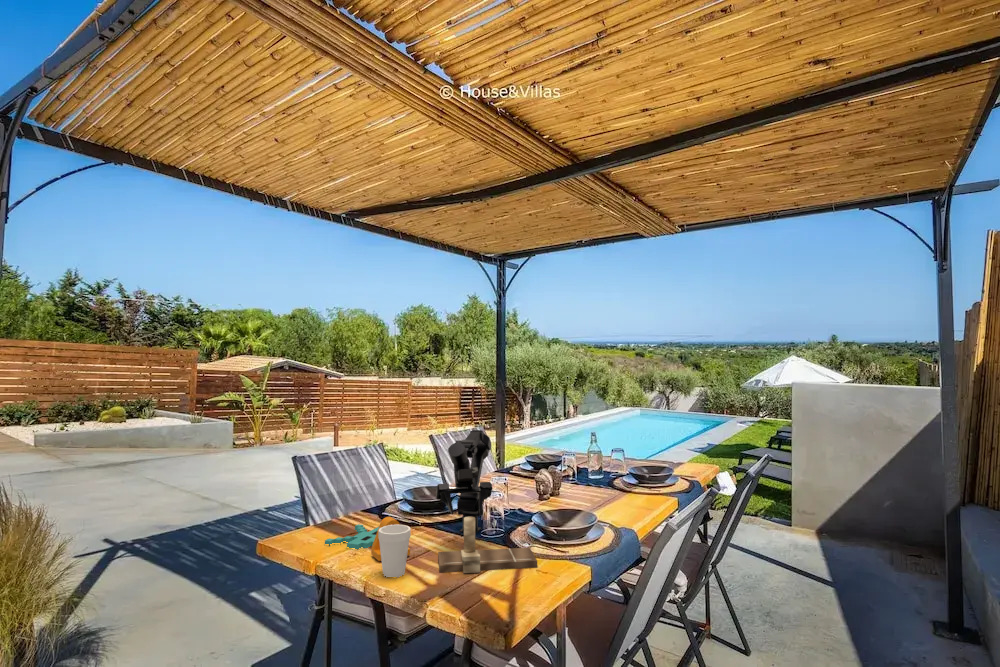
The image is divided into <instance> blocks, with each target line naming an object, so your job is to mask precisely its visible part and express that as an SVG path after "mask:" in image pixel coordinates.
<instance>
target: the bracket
mask: <svg viewBox="0 0 1000 667" xmlns="http://www.w3.org/2000/svg"><path fill="white" fill-rule="evenodd" d="M388 525H401V523H400V522H399V521H398V520H396V519H395V518H394V517H392V516H385V517H384V518H383V519H382V520H381V521H380V522H379V526H378V527H379V528H378V531H377V534H376V537H375V540H374V542H373V545H372V547H370V548H371V549H370V550H371V553H370V555H371V556H373V557H374V559H376V560H377V561H378V562H382V561H381V552H380V543H379V539H378V532H379V529H380V528H382V527H384V526H388ZM408 556H411V548H410V547H409V546H408V553H407V557H408Z"/></svg>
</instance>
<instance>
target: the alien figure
mask: <svg viewBox="0 0 1000 667" xmlns="http://www.w3.org/2000/svg"><path fill="white" fill-rule="evenodd" d="M378 528H379V526H378V527H375V528H374V529H371V530H370V531H368V529H366V526H364V524H359V523H358V524H356V525H354V531H355V530H357V531H355V532H358V533H356V534H355V535H354V536H349V535H347V536H344V537H339V536H338V537H336V538H327V539H325V540H324V545H325V544H329V545H330V544H332V543H341V542H343V541H346V542H348V543H346V548H347V547H349V548H355V549H359V548H361V547H363V548H361V549H365V548H368V547H370V546H372V545H373V542H374V540H375V537H376V534H377V531H378ZM370 548H371V547H370ZM368 549H369V548H368ZM359 550H360V549H359Z"/></svg>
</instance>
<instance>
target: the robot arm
mask: <svg viewBox="0 0 1000 667" xmlns="http://www.w3.org/2000/svg"><path fill="white" fill-rule="evenodd" d="M491 449H492V442H491V438H490V436H489V435H487V434H485V431H484V430H482V429H472V430H470V431H469V434H468V435H467V436H466V437H465V438H464V439H459V440H455V442H454V443H452V444H451V445H449V447H448V449H447V452H448V455H449V457H450V460H451V463H452V464H453V474H454V476H453V477H454V485H455V486H454V487H453V486H452V487H451V486H450V484H449V483H438V484H437V485H436V492H435V495H436V496H435V497H436V499H435V500H439V501H440V502H443V503H444V505H445V506H446V507H447V509H448V511H449V512H450V514H451V515H454V508H453V503H452V497H451V495H453V494H454V495H455V494H460V495H459V498H457V502H456V504H457V505H456V507H457V515H458V516H461V515H462V528H461V529H459V533H464V517H475V534H477V533H479V531H480V530H482V527H479V517H481V516H483V515H484V507H483V504H484V502H485V500H487V499H488V498H490V497H491V496H492V493H493V492H492V491H493V484H492V482H490V481H481V482H480V480H481V476H482V469H483V463H484V460H485V459H486V458H487V457H488V456H489V454H490V451H491ZM469 458H470V459H471V462H470V459H469Z"/></svg>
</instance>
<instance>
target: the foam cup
mask: <svg viewBox="0 0 1000 667" xmlns="http://www.w3.org/2000/svg"><path fill="white" fill-rule="evenodd" d="M411 529H412V528H411V527H410V526H408V525H405V524H400V525H392V524H391V525H388V526H384V527H382V528H380V529H379V532H378V539H379V543H380V552H381V561H380V562H381V568H382V575H383V574H384V575H383V576H384V577H385V576H386V577H385V578H387V577H397V578H400V576H401V577H403V576H404V575H405V573H406V566H407V560H408V559H407V558H408V556H407V553H408V547H409V544H410V538H411V536H412V535H411V533H412V532H411ZM402 575H403V576H402Z"/></svg>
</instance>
